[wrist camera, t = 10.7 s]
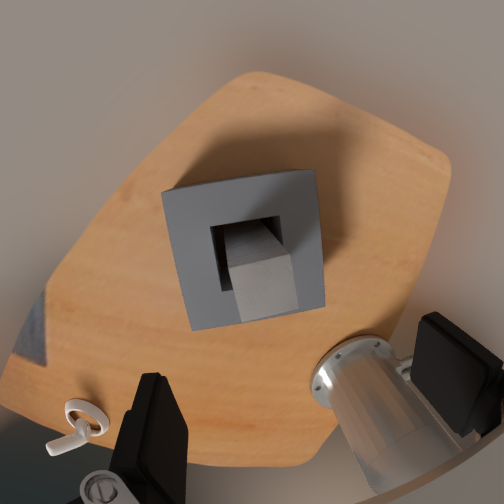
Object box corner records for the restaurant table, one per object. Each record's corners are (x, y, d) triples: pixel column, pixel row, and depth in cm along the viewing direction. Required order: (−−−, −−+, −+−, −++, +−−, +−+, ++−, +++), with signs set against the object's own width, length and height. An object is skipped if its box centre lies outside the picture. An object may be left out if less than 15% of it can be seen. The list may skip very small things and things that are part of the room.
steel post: (257, 217, 29) (290, 254, 16) (264, 251, 30) (298, 308, 17) (222, 225, 28) (228, 268, 16) (230, 258, 29) (241, 322, 17)
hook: (22, 402, 26) (42, 429, 23) (84, 384, 37) (110, 404, 34) (34, 440, 26) (55, 467, 23) (90, 420, 37) (115, 440, 34)
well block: (294, 169, 28) (314, 169, 22) (306, 282, 31) (325, 306, 25) (172, 188, 27) (160, 192, 21) (195, 302, 30) (192, 331, 24)
